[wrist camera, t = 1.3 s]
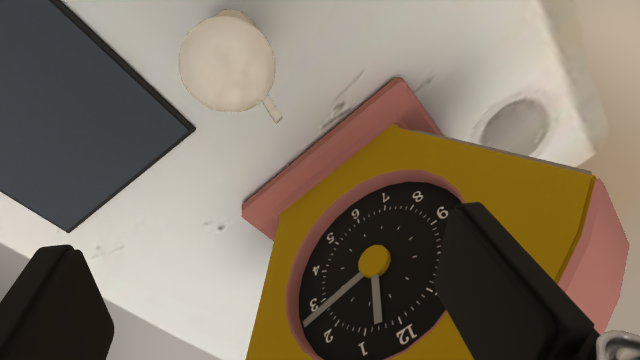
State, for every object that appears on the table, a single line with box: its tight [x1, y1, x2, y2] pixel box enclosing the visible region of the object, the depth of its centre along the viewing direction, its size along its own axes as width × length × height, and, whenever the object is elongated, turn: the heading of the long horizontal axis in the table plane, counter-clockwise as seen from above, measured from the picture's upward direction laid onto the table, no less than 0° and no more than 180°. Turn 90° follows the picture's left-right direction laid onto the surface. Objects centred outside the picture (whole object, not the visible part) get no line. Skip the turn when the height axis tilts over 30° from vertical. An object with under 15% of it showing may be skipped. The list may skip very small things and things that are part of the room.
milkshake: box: [179, 9, 282, 124], centre depth 21 cm, size 4×5×10 cm
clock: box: [242, 78, 629, 360], centre depth 23 cm, size 22×9×22 cm, turn 130°
